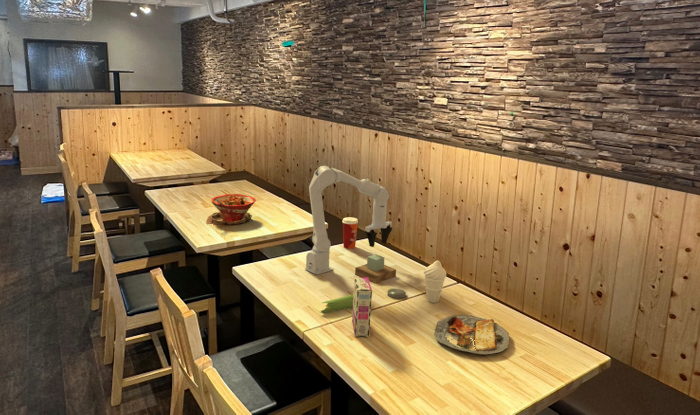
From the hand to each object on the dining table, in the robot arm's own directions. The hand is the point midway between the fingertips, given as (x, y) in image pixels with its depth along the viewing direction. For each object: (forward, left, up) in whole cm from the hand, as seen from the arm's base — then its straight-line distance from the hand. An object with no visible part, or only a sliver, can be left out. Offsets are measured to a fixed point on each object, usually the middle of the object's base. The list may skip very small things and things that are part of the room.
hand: (377, 244), depth 231 cm
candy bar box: (-46, -37, -10) cm, 60 cm away
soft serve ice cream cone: (-9, -38, -10) cm, 40 cm away
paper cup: (+8, +26, -10) cm, 29 cm away
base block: (-8, -7, -10) cm, 15 cm away
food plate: (-22, -64, -10) cm, 68 cm away
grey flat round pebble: (-16, -26, -10) cm, 32 cm away
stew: (-14, +97, -10) cm, 98 cm away
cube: (-8, -7, -7) cm, 13 cm away
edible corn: (-40, -21, -10) cm, 46 cm away
